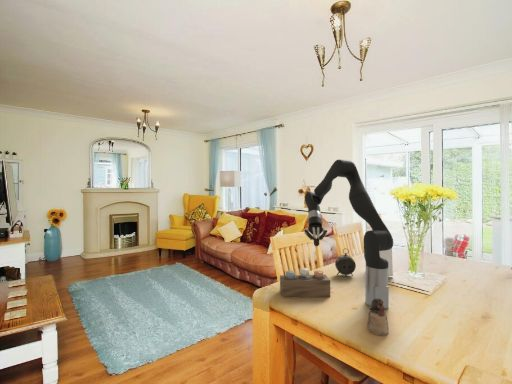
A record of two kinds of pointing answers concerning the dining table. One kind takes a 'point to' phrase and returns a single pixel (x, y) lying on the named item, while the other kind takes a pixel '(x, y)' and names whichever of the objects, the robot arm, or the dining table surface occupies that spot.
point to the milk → (388, 256)
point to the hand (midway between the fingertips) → (316, 245)
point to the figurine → (377, 318)
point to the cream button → (304, 271)
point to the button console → (305, 286)
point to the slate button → (290, 274)
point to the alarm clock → (345, 264)
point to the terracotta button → (318, 274)
